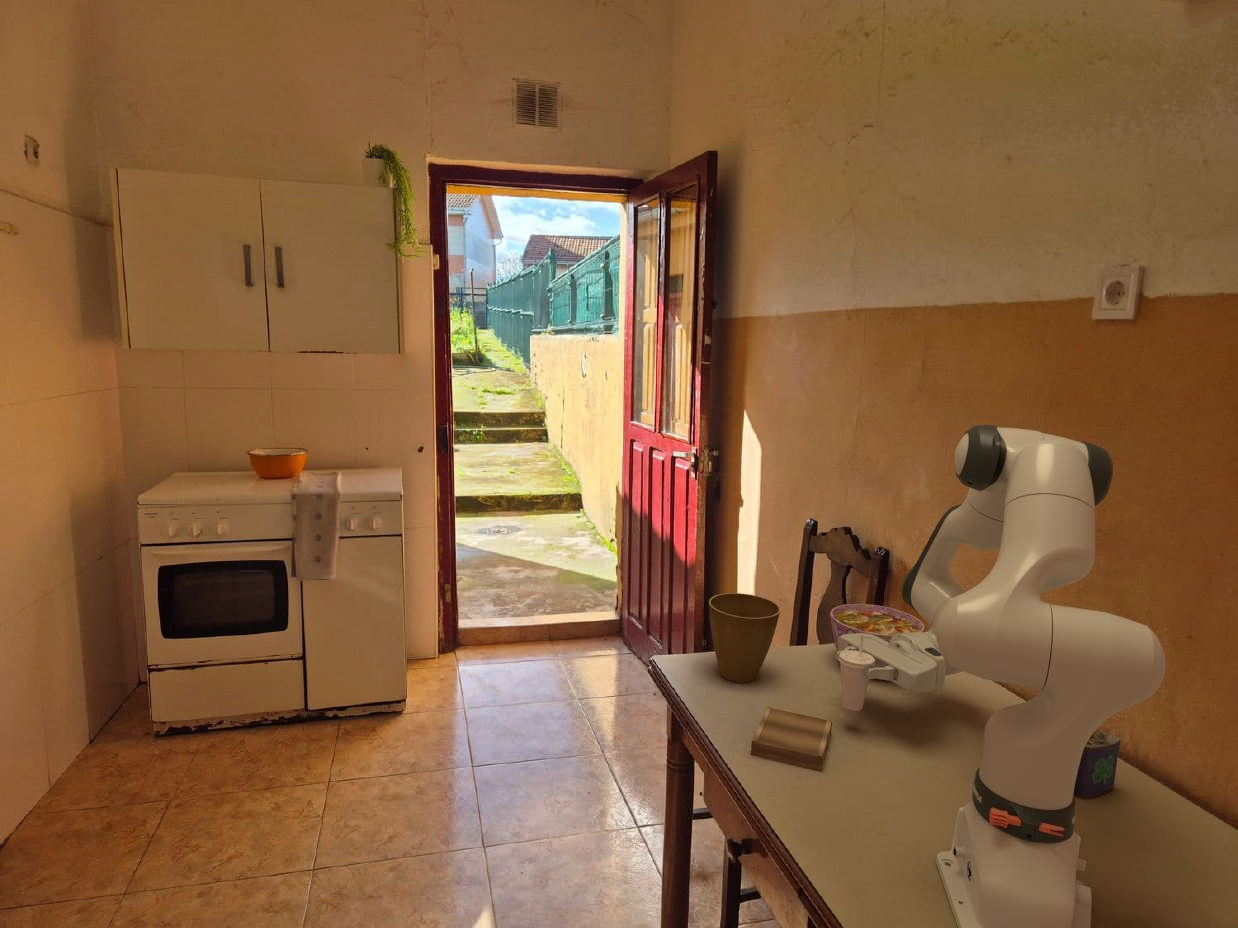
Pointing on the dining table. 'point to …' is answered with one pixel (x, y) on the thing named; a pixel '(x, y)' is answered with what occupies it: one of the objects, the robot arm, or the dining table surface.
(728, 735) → the dining table surface
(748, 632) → the plant pot
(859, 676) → the smoothie
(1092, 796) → the flask
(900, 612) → the bowl of food
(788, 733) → the board
